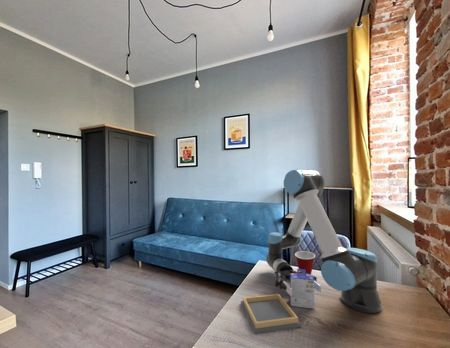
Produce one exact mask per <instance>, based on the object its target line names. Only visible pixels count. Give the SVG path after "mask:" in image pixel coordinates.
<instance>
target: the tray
mask: <svg viewBox="0 0 450 348" xmlns="http://www.w3.org/2000/svg"><path fill="white" fill-rule="evenodd" d="M240 305H241V307H242V309H243V312H244V313H245V316H246V318H247V321H248V323H249V324H250V327H251V329H252V331H253V333H254V334H261V333H267V332H269V333H270V332H275V331H282V330H290V329H296V328H301V327H302V323H301V321H300V320H299V317H298V316H297V314H296V313H295V312H294V310H293V309H292V308H291V307H290V305H289V304H288V303H287V302H286V301H285V300H284V298H283V297H282V295H280V293H274V294H273V293H272V294H263V295H256V296H244V297H242V300H240Z"/></svg>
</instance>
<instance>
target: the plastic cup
mask: <svg viewBox="0 0 450 348" xmlns="http://www.w3.org/2000/svg"><path fill="white" fill-rule="evenodd" d="M294 256H295V258H296V262H297V269H304V270H306V273H308V274H310V275H312V271H313V268H314V267H313V266H314V262H315V258H316V254H315V253H314V252H311V251H306V250H301V251H296V252H295V253H294Z"/></svg>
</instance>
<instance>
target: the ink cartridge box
mask: <svg viewBox="0 0 450 348" xmlns="http://www.w3.org/2000/svg"><path fill="white" fill-rule="evenodd" d="M296 270H297V271H296V272H297V274H296V273H290V280H289V286H290V287H291V288H292V295H291V296H290V295H289V303H290V304H289V306H291V307H298V308H306V309H315V288H314V281H315V280H314V278H313V276H314V275H313V274H311V275H309V274H306V270H304V269H298V268H297V269H296ZM299 271H303V272H305V273H299Z"/></svg>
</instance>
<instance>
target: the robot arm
mask: <svg viewBox="0 0 450 348" xmlns="http://www.w3.org/2000/svg"><path fill="white" fill-rule="evenodd" d="M283 187H284V190H285V191H286V193H288V194H289V195H292V196H293V199H294V201H295V202H298V205H297V207H296V210H295V212H294V214H293V217H292V219H291V222H290V224H289V227H288V229H287V231H286V234H282V233H280V232H274V231H273V232H269V234H268V237H267V238H268V241H267V242H268V253H267V254H266V256H265V262H266V263H267V265H268V266H269V267H270V268H271V269H272V270H273V271H274V278H275V284H274V285H275V287H277V288H278V287H279V289H280V290H283V291H286V293H287V294H288V295H289V297H290V296H291V295H292V288H291V287H290V284H288V283H287V281H288V280H289V281H290V273H296V274H297V271H296V270H294V269H293V267H292V265H290V264H289V263H288V262H287V261H286V260H284V259H283V250H285V249H289V248H294V247H297V246H300V245H301V243H303V242H302V236H301V235H302V233H303V231H304V229H305V226H307V225H306V224H307V223H308V224H309V227H310V229H311V231H312V234H313V235H314V237H315V240H316V242H317V244H318V247H319V249H320V251H321V255H320V260H321V262H322V264H321V268H320V273H321V277H322V278H323V279H322V280H323V281H324V282H325V283H326V284H327V285H328V286H329V287H331V288H332V289H334V290H335V291H339V292H340V299H341V301H342V303H343V304H345V305H346V306H348V307H349V308H351V309H353V310H355V311H358V312H361V313H366V314H377V313H380V312H381V311H382V309H383V308H382V307H383V306H382V301H381V299H380V295H379V292H378V289H377V288H378V286H377V284H378V257H377V255H376V254H375V253H373V252H372V251H370V250H369V251H368V250H367V249H361V248H356V247H347V248H346V247H344V246H343V245H342V243H341V241H340V238H339V236H338V235H337V233H336V231H335V228H334V227H333V225H332V223H331V220H330V219H329V217H328V215H327V212H326V210H325V209H324V206H323V205H322V203H321V201H320V198H321V197H322V194H323V193H324V189H325V179H324V177H323V175H322V174H321V173H320V171H318V170H315V169H300V168H299V169H298V168H296V169H292V170H290V171H288V172H287V173H286V174H285V175H284V179H283ZM299 273H305V272H303V271H299ZM306 274H308V273H306ZM309 275H310V274H309ZM313 278H314V280H315V281H314V290H316V291H317V292H319V293H322V285H321V284H320V283H319V282H318V281H317V278H318V277H317V276H315V275H313ZM279 279H280V280H279Z"/></svg>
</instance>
